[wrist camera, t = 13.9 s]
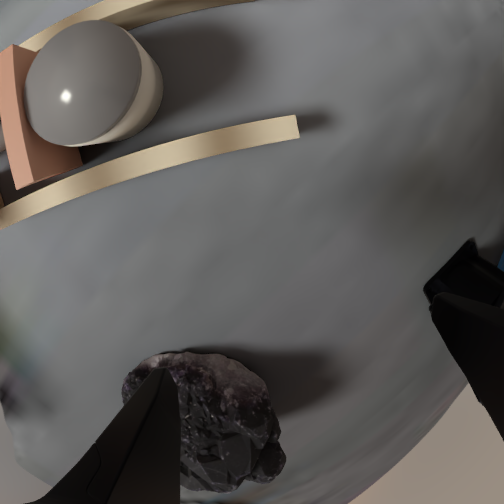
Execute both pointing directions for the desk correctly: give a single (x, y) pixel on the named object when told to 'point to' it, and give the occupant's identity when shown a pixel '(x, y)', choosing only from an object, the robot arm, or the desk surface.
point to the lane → (155, 158)
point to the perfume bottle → (501, 262)
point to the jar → (92, 86)
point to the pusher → (27, 126)
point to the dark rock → (218, 420)
